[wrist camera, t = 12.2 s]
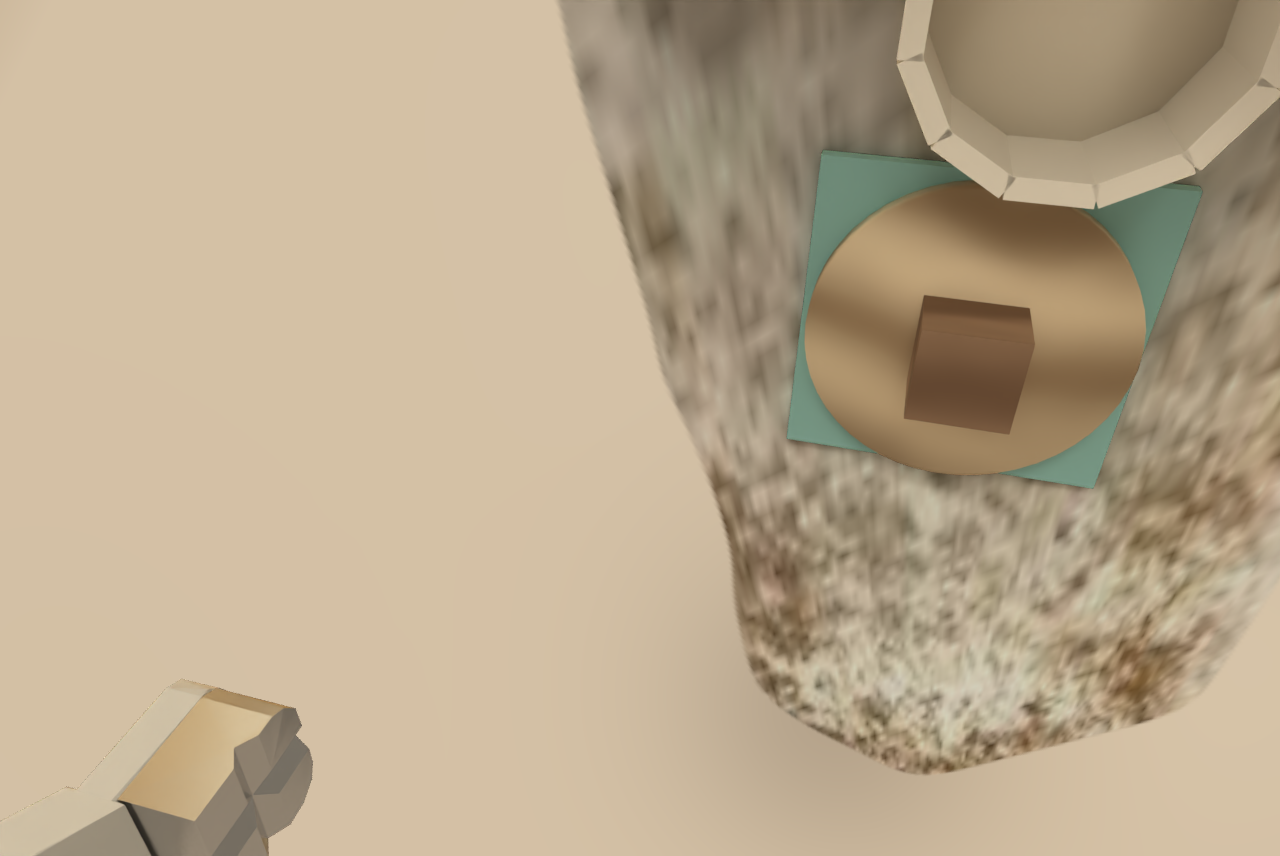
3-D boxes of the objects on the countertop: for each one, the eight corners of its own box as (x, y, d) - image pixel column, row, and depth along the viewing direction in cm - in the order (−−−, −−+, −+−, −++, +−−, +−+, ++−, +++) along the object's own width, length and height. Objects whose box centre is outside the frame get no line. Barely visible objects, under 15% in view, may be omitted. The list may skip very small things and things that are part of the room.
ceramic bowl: (941, -208, 30) (938, -207, 25) (1329, -203, 27) (1401, -201, 23) (885, 137, 36) (876, 186, 31) (1197, 166, 33) (1233, 223, 29)
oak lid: (827, 163, 36) (814, 201, 33) (1189, 198, 34) (1215, 243, 30) (793, 434, 44) (780, 487, 40) (1087, 481, 41) (1099, 543, 38)
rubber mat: (823, 150, 37) (821, 154, 36) (1199, 185, 34) (1202, 192, 33) (788, 431, 44) (786, 438, 44) (1091, 480, 42) (1093, 488, 41)
